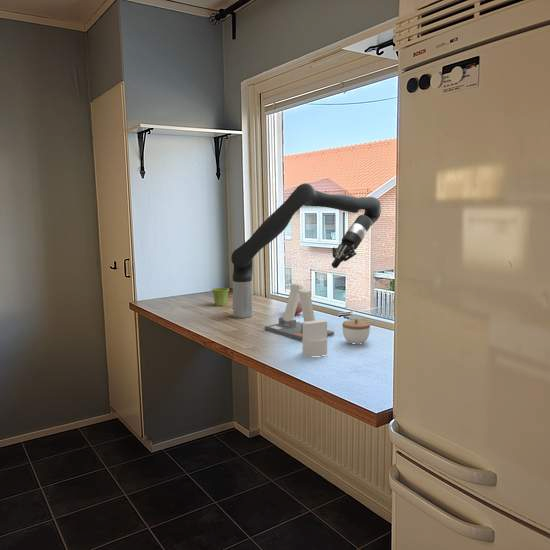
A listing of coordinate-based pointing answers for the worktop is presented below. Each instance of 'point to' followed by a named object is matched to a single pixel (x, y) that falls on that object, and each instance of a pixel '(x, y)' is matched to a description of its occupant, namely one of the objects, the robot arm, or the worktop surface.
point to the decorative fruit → (298, 307)
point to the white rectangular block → (315, 338)
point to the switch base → (290, 329)
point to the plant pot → (220, 296)
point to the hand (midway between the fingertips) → (333, 266)
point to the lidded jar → (356, 331)
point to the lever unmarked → (292, 303)
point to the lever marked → (306, 305)
